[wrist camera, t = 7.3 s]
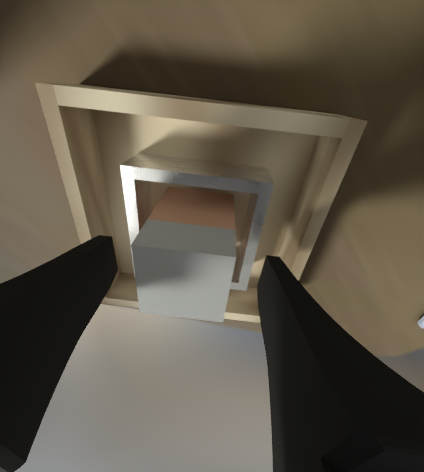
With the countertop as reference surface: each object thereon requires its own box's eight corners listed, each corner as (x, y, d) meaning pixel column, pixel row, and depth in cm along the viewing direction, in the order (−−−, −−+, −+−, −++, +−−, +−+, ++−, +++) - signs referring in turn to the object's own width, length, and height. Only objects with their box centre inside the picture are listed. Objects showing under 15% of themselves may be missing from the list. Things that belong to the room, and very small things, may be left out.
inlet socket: (266, 167, 12) (274, 183, 10) (244, 265, 16) (246, 290, 14) (138, 152, 12) (120, 165, 10) (146, 253, 16) (134, 277, 14)
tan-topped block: (233, 194, 13) (236, 257, 8) (225, 247, 16) (222, 322, 11) (167, 186, 13) (131, 244, 8) (168, 240, 16) (139, 312, 11)
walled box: (336, 114, 11) (367, 121, 9) (272, 292, 18) (279, 325, 16) (78, 83, 11) (35, 82, 9) (115, 274, 18) (97, 303, 16)
